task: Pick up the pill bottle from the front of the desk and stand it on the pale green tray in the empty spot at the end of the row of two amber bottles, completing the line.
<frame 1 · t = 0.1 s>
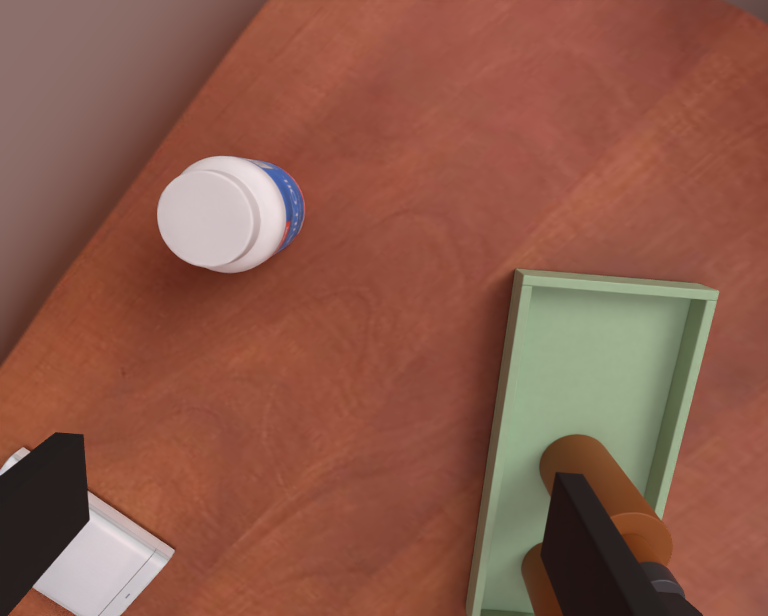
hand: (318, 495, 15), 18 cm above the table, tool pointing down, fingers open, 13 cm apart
hard drive: (73, 533, 37), on the table
pill bottle: (262, 206, 31), on the table
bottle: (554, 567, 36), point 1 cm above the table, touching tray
tray: (571, 460, 35), on the table
bottle mid: (574, 465, 34), point 1 cm above the table, touching tray
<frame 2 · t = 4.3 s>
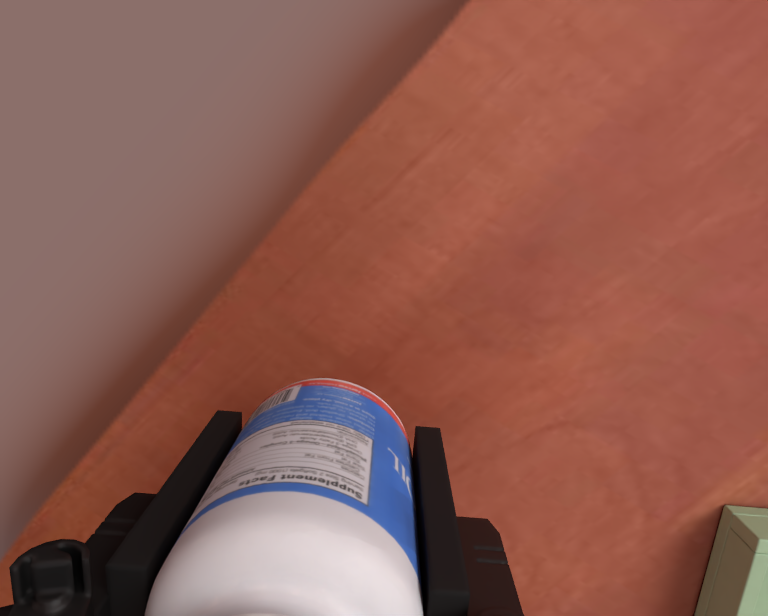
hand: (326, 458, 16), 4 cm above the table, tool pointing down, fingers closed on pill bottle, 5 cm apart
pill bottle: (328, 446, 17), point 3 cm above the table, touching gripper
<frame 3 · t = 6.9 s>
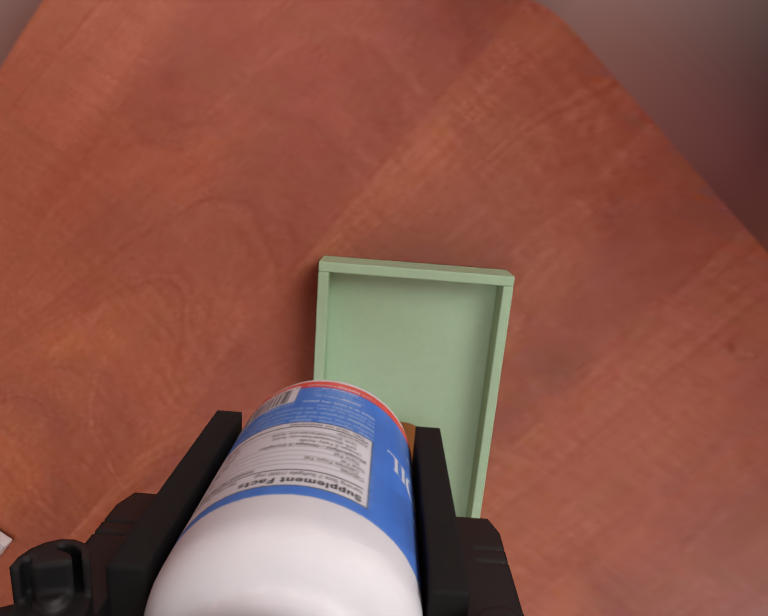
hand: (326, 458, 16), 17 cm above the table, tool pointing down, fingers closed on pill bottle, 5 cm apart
pill bottle: (328, 448, 17), point 16 cm above the table, touching gripper
tray: (397, 448, 35), on the table
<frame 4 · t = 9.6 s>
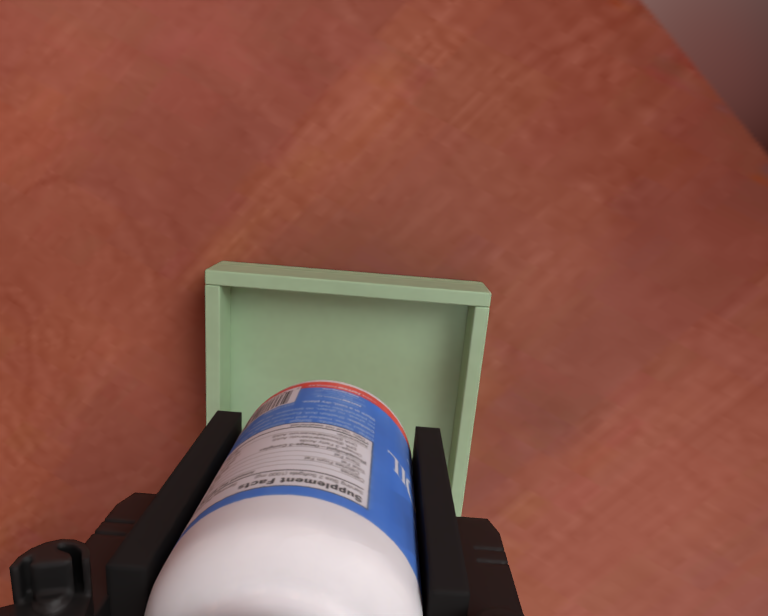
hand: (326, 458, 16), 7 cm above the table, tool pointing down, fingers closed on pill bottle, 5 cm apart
pill bottle: (328, 448, 17), point 7 cm above the table, touching gripper
tray: (335, 523, 25), on the table
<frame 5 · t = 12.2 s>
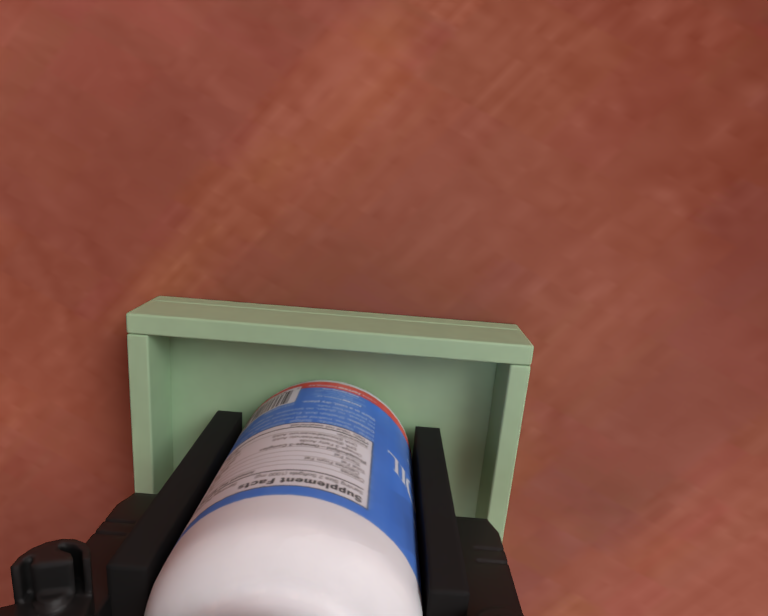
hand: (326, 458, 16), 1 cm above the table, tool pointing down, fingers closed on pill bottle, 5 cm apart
pill bottle: (328, 448, 17), point 1 cm above the table, touching gripper
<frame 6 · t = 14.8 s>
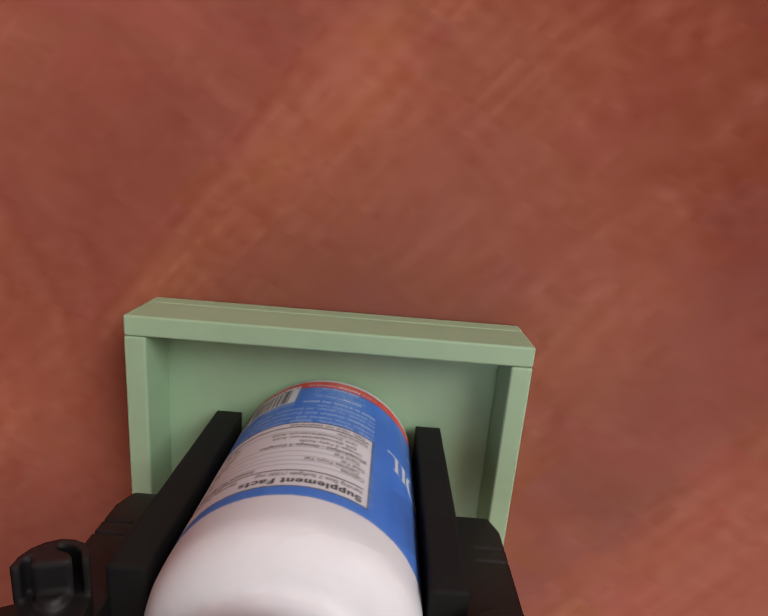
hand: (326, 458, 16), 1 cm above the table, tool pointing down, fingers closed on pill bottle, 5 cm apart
pill bottle: (328, 448, 17), resting on tray, touching gripper
when the fingers open (1 cm above the table, at t = 15.1 s): pill bottle stays where it is, resting on tray.
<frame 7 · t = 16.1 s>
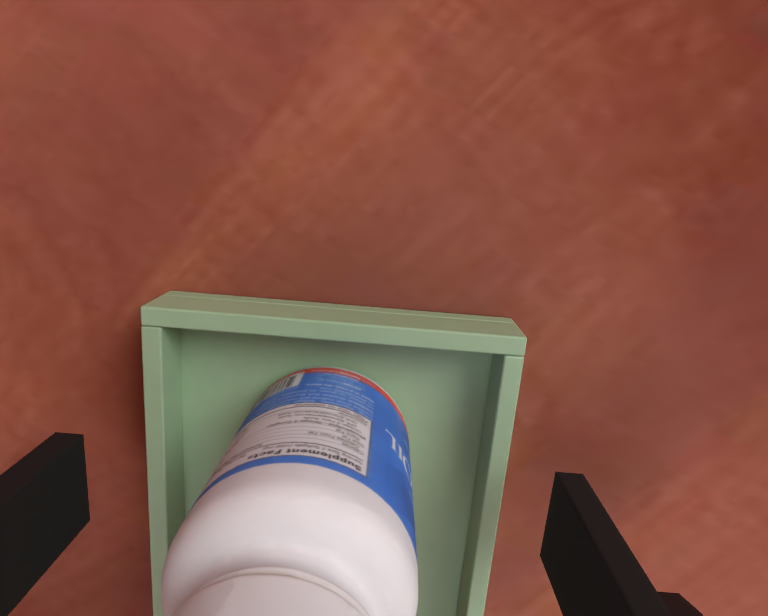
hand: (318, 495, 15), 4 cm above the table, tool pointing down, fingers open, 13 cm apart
pill bottle: (329, 432, 18), resting on tray
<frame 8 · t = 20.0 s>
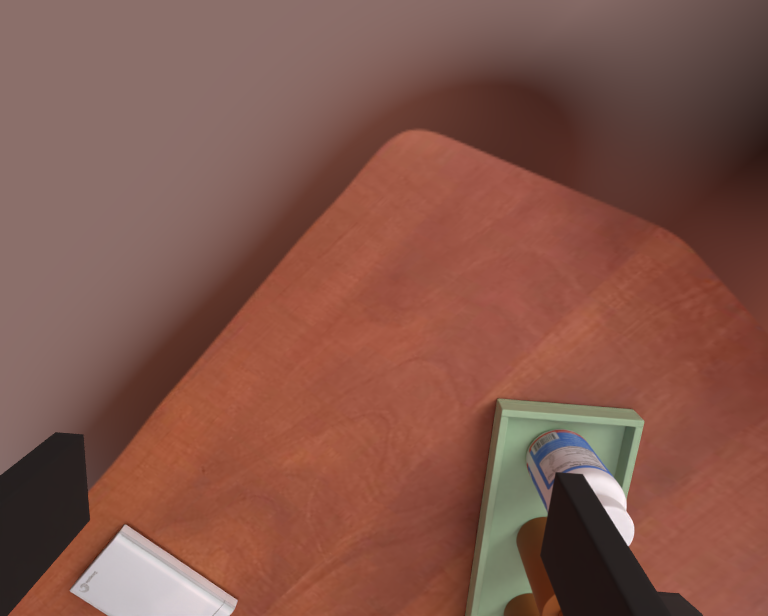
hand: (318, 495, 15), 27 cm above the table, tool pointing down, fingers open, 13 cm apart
hard drive: (159, 587, 48), on the table
pill bottle: (556, 454, 43), resting on tray
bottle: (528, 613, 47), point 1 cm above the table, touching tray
tray: (540, 534, 46), on the table
bottle mid: (542, 539, 45), point 1 cm above the table, touching tray
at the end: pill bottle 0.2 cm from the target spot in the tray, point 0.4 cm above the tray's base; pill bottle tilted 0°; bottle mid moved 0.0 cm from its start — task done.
